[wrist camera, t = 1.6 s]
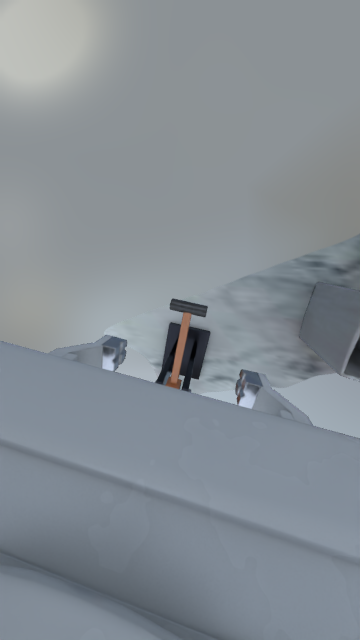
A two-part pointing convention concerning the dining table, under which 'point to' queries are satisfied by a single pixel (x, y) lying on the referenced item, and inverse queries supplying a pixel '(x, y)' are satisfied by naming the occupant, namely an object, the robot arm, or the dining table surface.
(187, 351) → the bracket
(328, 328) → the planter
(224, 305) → the dining table surface
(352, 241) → the dining table surface
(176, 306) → the lever
